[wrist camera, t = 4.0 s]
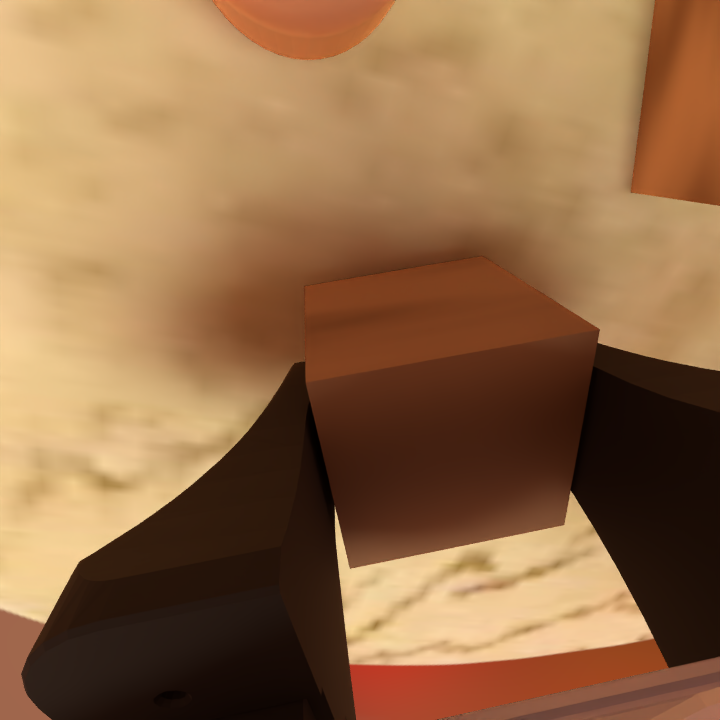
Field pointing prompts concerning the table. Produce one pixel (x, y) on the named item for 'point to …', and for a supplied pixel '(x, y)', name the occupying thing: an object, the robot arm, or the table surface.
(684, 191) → the oak block
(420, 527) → the walnut cube
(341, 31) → the terracotta cylinder
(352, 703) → the robot arm
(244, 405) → the table surface
